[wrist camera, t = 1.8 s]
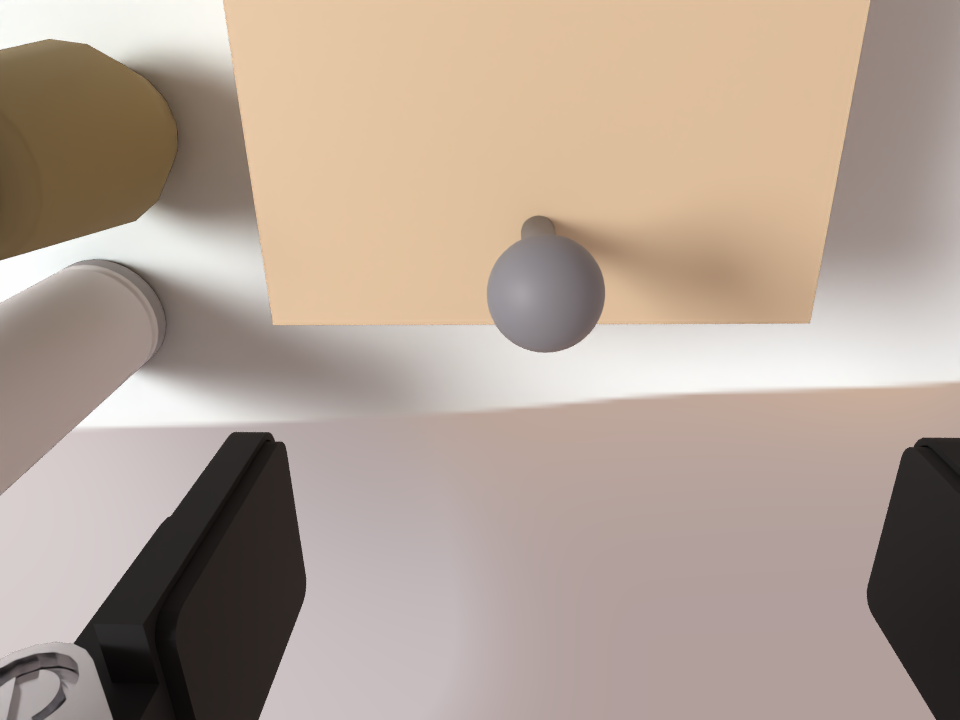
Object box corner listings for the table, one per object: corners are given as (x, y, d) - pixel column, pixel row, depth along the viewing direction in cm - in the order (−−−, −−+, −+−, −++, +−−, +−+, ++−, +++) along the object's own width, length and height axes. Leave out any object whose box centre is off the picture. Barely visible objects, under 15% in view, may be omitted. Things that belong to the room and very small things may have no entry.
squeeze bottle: (31, 180, 36) (-366, 307, 20) (42, 11, 33) (-426, -4, 16) (189, 232, 37) (-67, 395, 21) (215, 72, 34) (-67, 116, 17)
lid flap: (201, -189, 21) (16, -317, 13) (901, -215, 20) (1149, -369, 12) (277, 319, 28) (185, 433, 20) (803, 317, 27) (923, 436, 19)
